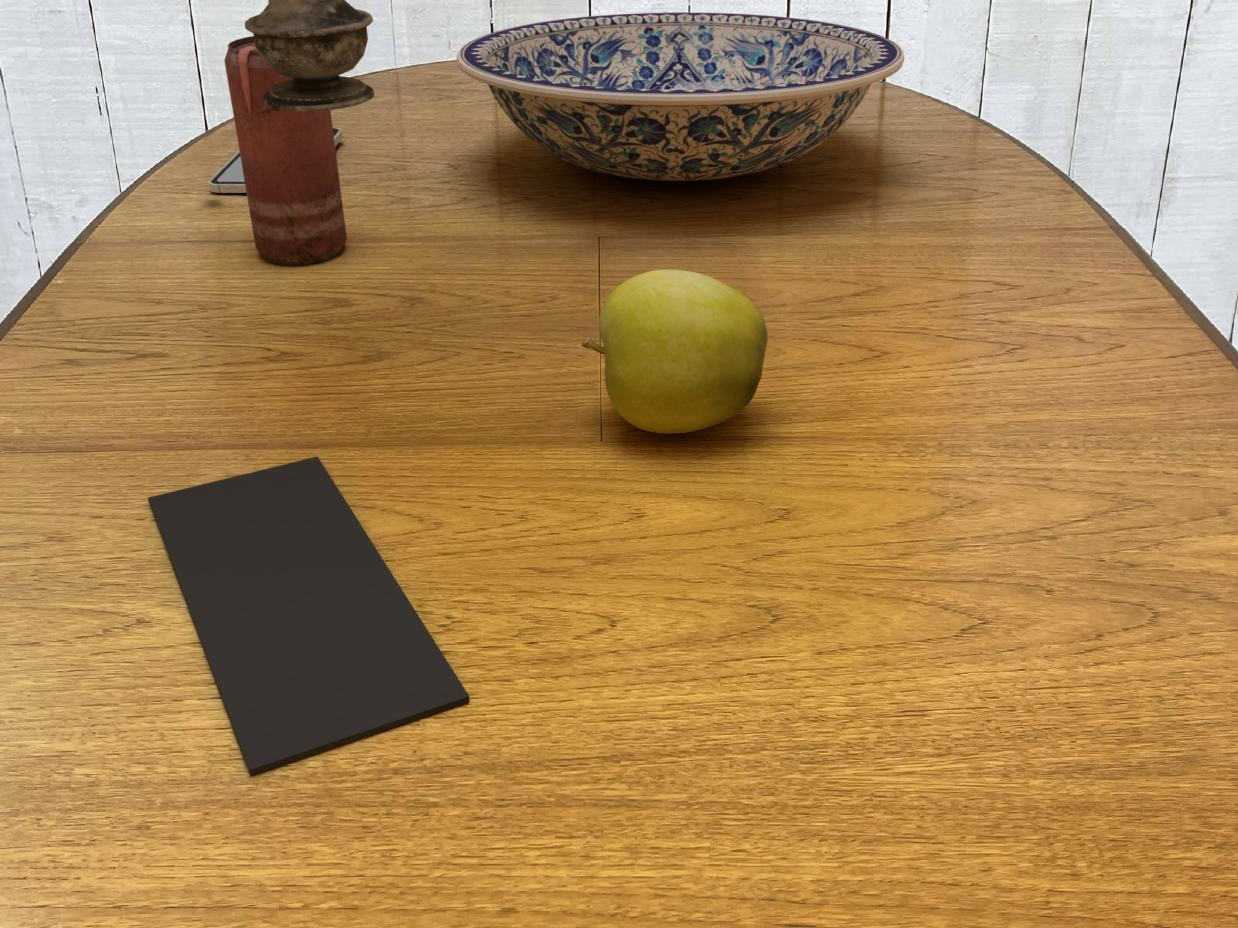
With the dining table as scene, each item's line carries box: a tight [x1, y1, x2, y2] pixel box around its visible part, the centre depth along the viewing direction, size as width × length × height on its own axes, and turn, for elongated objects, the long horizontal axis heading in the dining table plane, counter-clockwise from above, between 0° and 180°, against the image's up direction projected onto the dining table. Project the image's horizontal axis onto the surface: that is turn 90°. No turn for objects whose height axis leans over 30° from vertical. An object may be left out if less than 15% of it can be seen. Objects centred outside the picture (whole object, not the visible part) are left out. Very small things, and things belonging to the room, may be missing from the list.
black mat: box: [147, 456, 471, 777], centre depth 52 cm, size 8×20×1 cm, turn 27°
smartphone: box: [208, 127, 343, 194], centre depth 103 cm, size 7×1×15 cm
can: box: [224, 35, 348, 266], centre depth 83 cm, size 6×6×14 cm
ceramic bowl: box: [456, 11, 905, 182], centre depth 99 cm, size 34×34×10 cm
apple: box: [581, 269, 769, 434], centre depth 62 cm, size 8×9×8 cm
